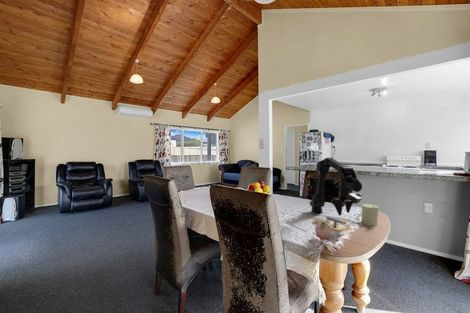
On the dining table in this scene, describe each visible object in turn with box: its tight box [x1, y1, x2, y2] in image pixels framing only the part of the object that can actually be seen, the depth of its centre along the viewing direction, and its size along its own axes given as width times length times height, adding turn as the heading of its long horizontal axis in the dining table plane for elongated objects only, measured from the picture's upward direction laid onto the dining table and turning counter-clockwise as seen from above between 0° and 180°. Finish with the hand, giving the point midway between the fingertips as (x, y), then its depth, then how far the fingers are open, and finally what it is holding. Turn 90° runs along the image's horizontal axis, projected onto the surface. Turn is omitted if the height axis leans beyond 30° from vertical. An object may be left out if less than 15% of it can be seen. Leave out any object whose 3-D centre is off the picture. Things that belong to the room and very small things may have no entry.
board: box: [308, 220, 355, 235], centre depth 137 cm, size 22×14×2 cm, turn 36°
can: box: [360, 203, 379, 227], centre depth 145 cm, size 9×9×12 cm
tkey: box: [325, 216, 347, 227], centre depth 134 cm, size 11×2×5 cm, turn 36°
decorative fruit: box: [314, 222, 333, 241], centre depth 120 cm, size 9×8×10 cm
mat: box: [292, 225, 307, 232], centre depth 137 cm, size 10×10×1 cm
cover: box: [313, 215, 331, 224], centre depth 141 cm, size 8×6×3 cm
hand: (343, 214), depth 129 cm, fingers open, 9 cm apart
